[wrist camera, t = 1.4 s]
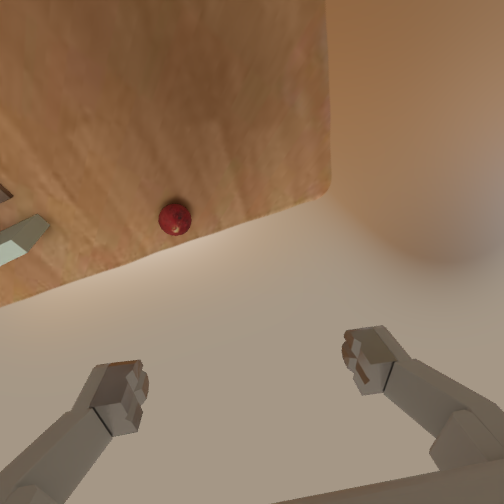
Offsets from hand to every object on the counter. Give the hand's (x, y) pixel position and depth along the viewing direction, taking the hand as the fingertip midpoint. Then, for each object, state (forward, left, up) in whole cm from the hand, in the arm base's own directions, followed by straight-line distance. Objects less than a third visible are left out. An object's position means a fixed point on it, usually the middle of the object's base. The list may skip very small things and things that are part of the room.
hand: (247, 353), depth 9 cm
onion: (+9, -7, -41) cm, 42 cm away
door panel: (0, -31, -41) cm, 51 cm away
